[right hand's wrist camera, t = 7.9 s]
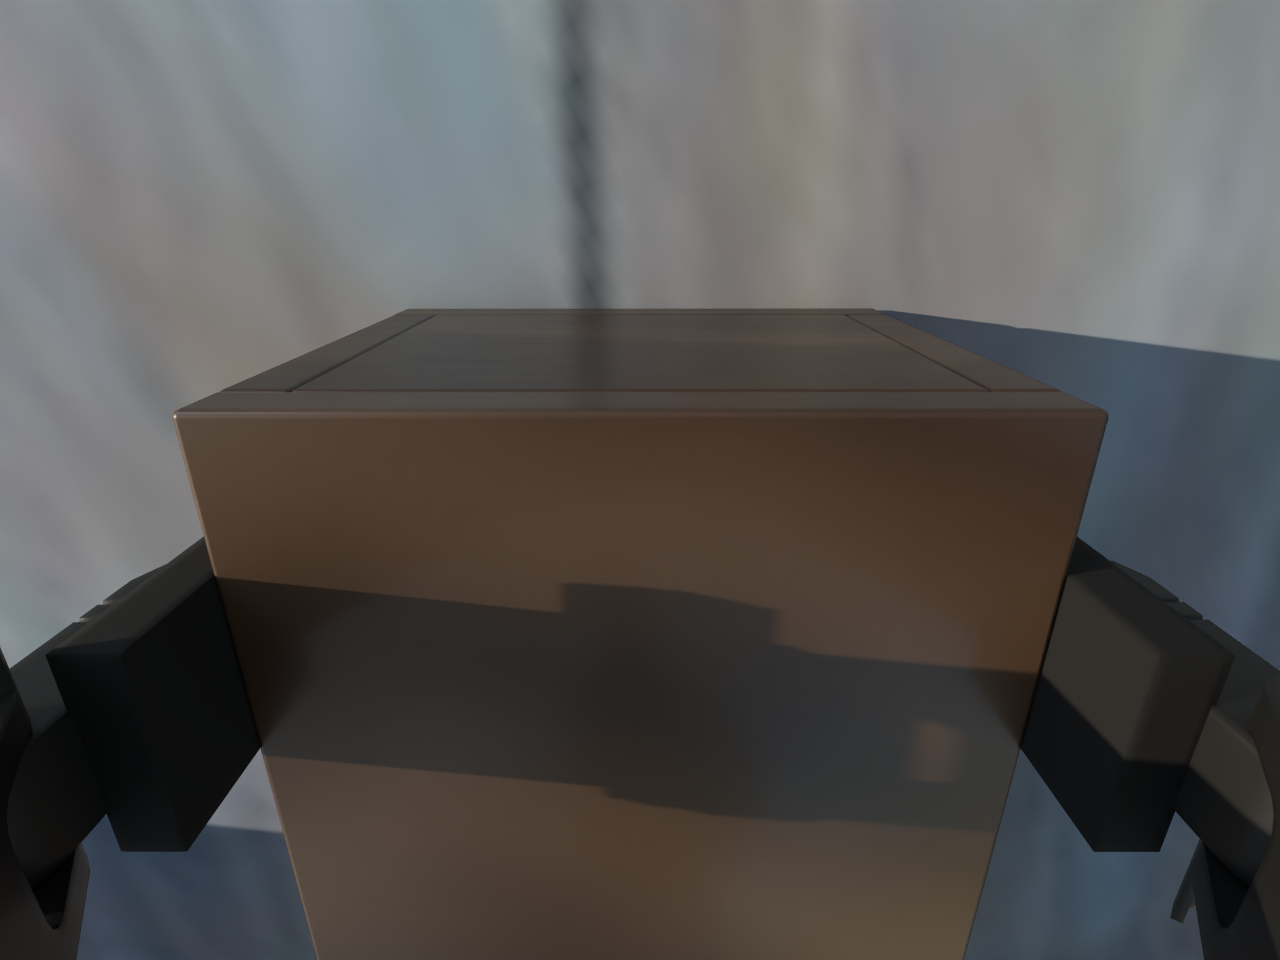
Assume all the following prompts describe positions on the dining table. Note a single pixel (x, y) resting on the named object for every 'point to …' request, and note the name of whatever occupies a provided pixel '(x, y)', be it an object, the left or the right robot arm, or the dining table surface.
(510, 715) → the cabinet
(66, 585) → the dining table surface
